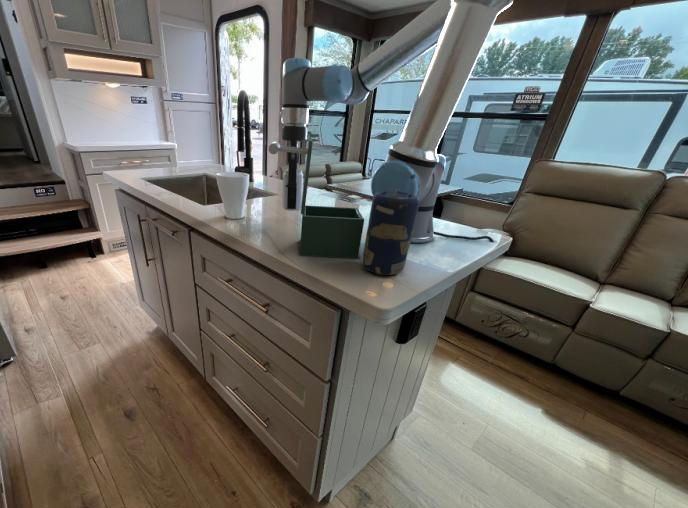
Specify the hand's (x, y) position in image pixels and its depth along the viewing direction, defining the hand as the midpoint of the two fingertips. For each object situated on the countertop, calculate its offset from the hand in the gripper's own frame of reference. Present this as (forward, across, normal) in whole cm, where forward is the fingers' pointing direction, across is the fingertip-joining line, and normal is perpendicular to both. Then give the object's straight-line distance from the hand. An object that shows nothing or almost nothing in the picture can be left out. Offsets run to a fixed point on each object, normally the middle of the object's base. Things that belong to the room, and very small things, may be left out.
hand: (292, 205), depth 103 cm
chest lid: (-13, +25, +4) cm, 28 cm away
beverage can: (+1, 0, 0) cm, 1 cm away
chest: (+5, +25, +11) cm, 27 cm away
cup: (+5, -1, -19) cm, 20 cm away
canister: (+6, +36, +22) cm, 43 cm away
